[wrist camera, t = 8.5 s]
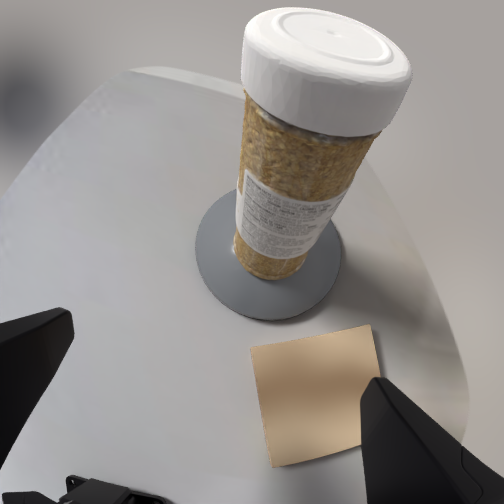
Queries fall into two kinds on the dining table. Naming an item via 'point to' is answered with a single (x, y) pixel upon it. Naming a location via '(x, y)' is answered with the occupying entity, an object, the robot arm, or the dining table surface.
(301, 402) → the tan square cloth
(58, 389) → the dining table surface
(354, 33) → the sprinkles bottle
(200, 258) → the coaster
